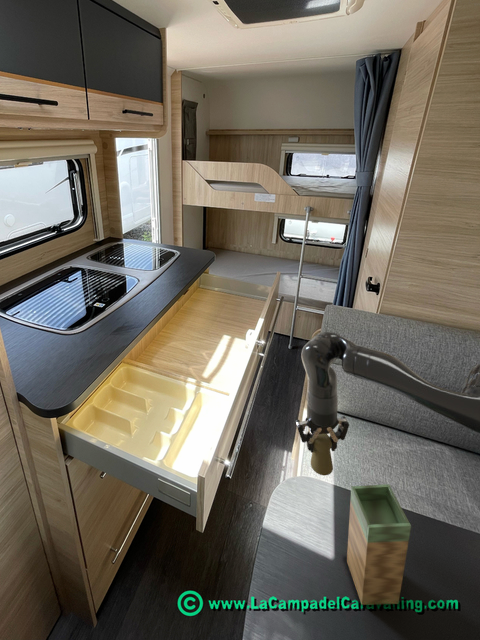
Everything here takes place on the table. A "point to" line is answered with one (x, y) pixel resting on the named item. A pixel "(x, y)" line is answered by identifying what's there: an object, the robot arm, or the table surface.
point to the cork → (322, 455)
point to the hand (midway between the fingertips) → (321, 448)
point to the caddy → (377, 543)
